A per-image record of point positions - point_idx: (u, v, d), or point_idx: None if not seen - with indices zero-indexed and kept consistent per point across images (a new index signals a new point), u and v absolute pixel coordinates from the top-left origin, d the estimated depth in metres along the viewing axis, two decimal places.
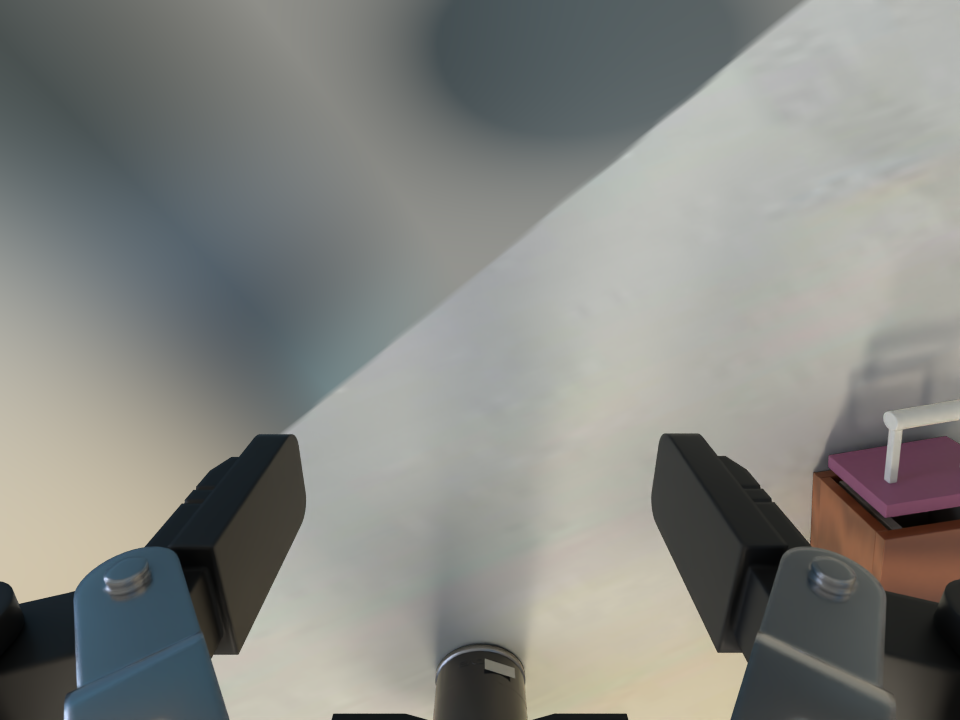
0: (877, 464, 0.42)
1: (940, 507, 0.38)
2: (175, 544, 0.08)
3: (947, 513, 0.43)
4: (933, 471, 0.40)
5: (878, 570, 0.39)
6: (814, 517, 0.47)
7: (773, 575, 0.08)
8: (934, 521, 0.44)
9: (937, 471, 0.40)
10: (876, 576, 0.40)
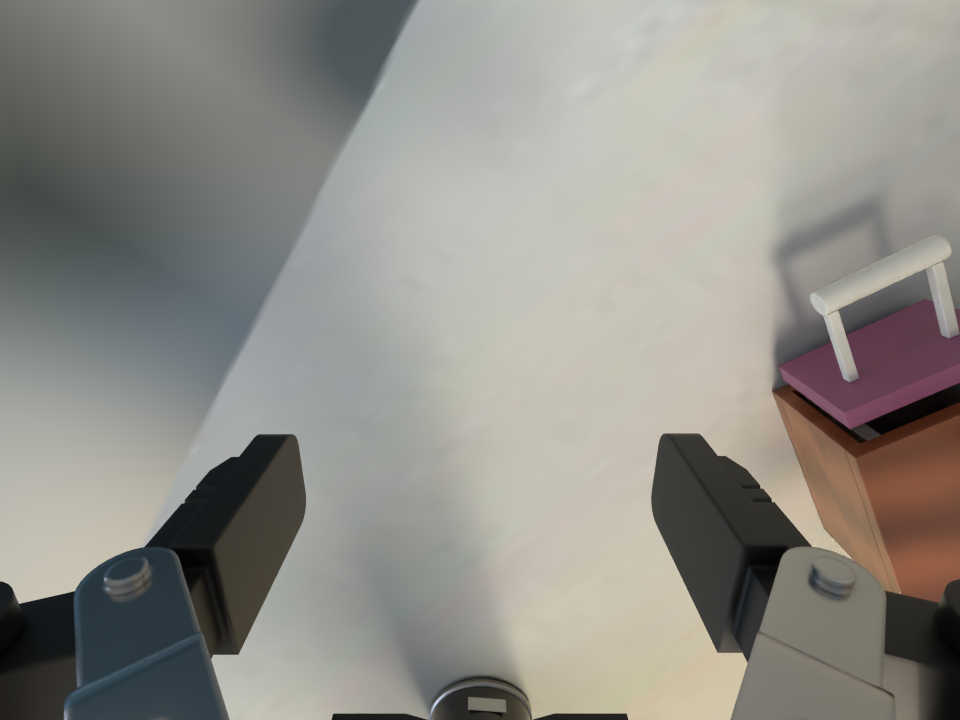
0: (836, 361, 0.32)
1: (921, 396, 0.28)
2: (175, 544, 0.08)
3: (954, 397, 0.32)
4: (907, 350, 0.30)
5: (866, 497, 0.30)
6: (794, 444, 0.38)
7: (773, 575, 0.08)
8: None
9: (912, 349, 0.30)
10: (867, 505, 0.30)
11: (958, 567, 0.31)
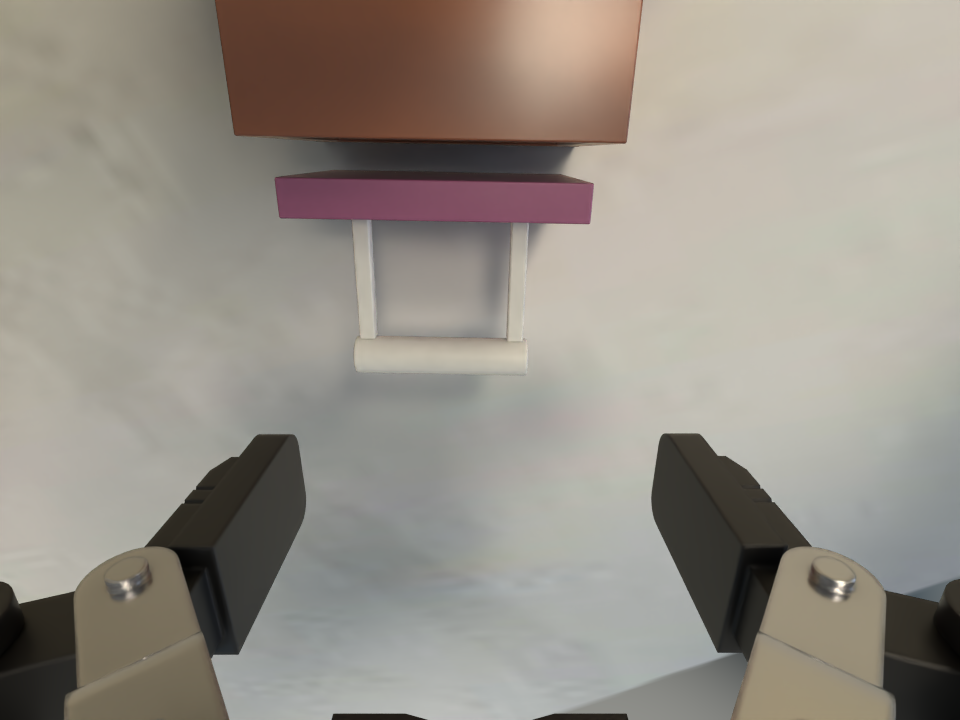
0: None
1: (464, 187, 0.16)
2: (175, 544, 0.08)
3: None
4: None
5: None
6: None
7: (773, 575, 0.08)
8: None
9: None
10: None
11: None
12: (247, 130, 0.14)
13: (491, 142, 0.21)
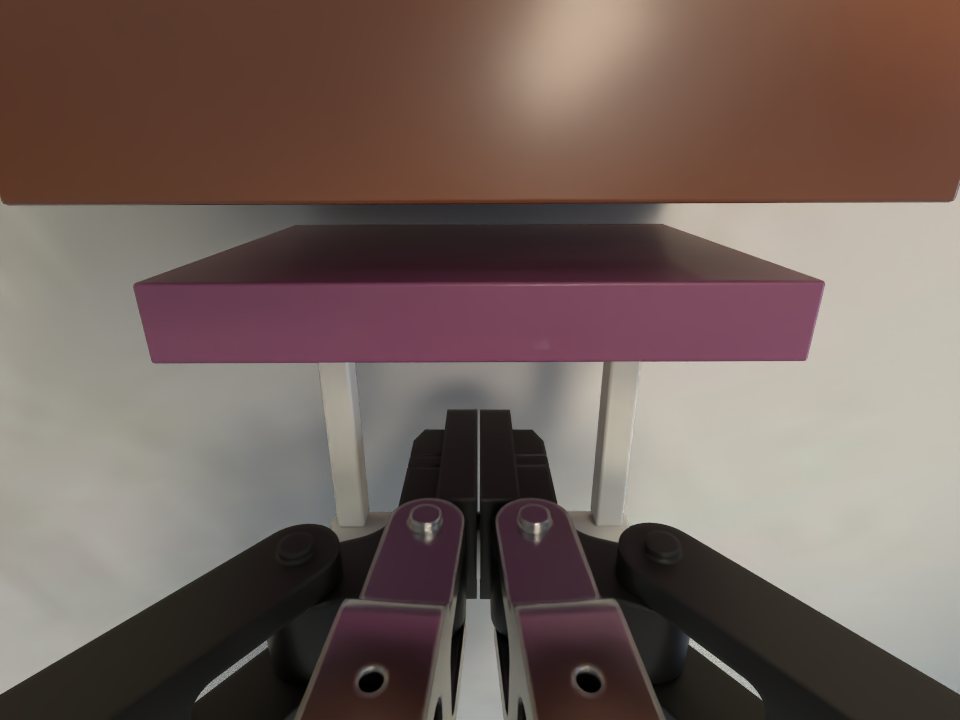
0: None
1: (544, 296, 0.07)
2: (442, 497, 0.09)
3: None
4: None
5: None
6: None
7: None
8: None
9: None
10: None
11: None
12: (32, 192, 0.06)
13: None
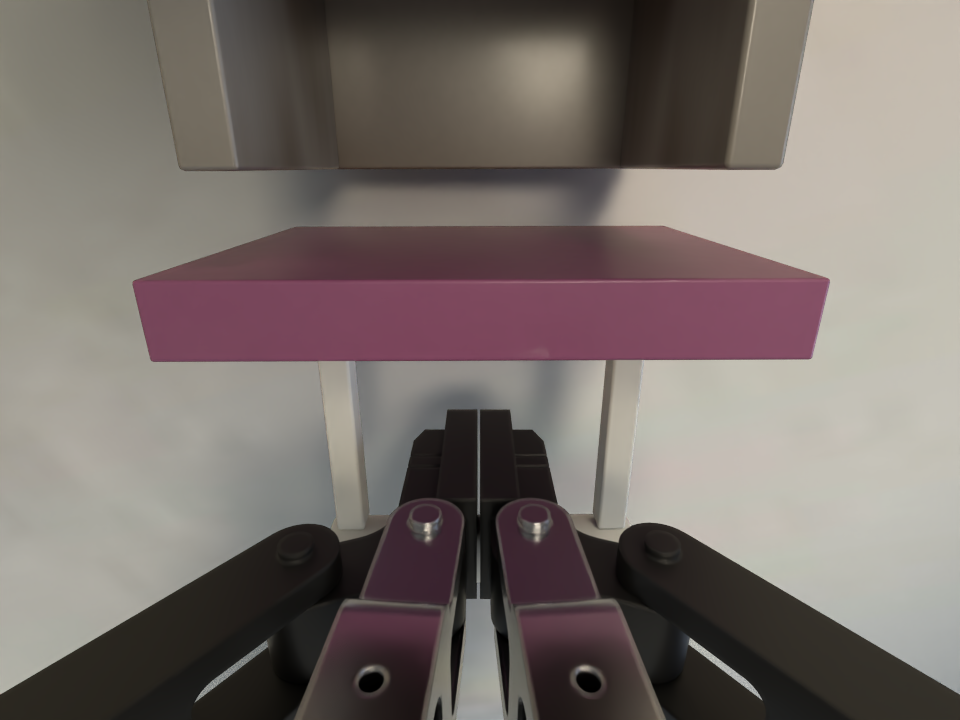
0: None
1: (547, 293, 0.07)
2: (442, 497, 0.09)
3: (299, 0, 0.09)
4: None
5: None
6: None
7: None
8: None
9: None
10: None
11: None
12: None
13: None
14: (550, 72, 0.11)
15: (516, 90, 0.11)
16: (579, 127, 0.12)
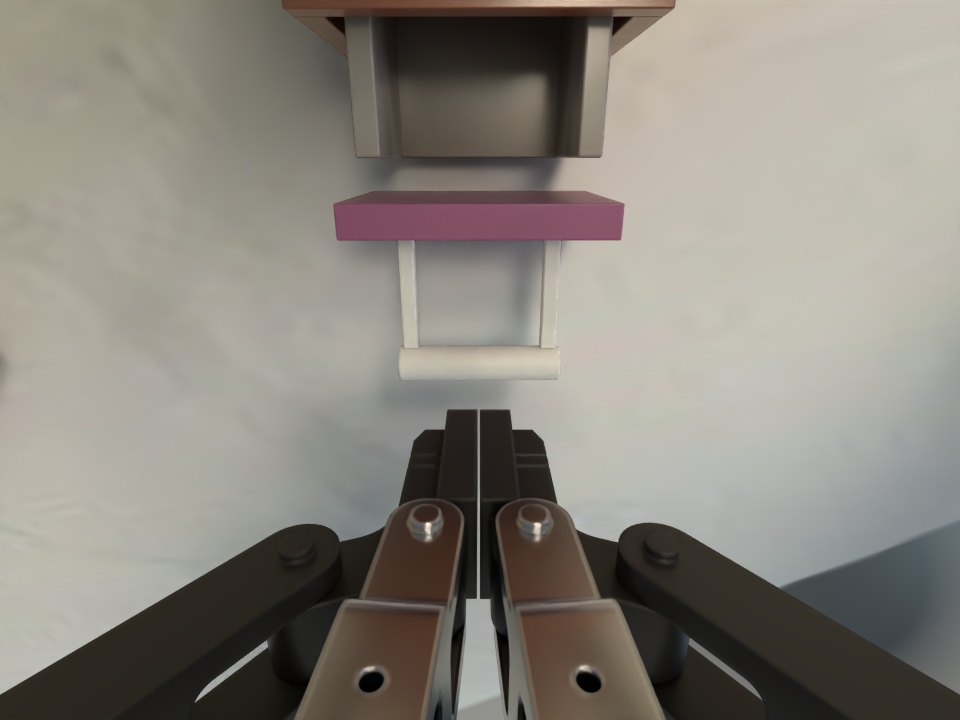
0: None
1: (506, 209, 0.17)
2: (442, 497, 0.09)
3: (392, 75, 0.19)
4: None
5: None
6: None
7: None
8: (393, 28, 0.19)
9: None
10: None
11: None
12: (295, 3, 0.14)
13: None
14: (516, 106, 0.21)
15: (498, 115, 0.21)
16: (532, 135, 0.21)
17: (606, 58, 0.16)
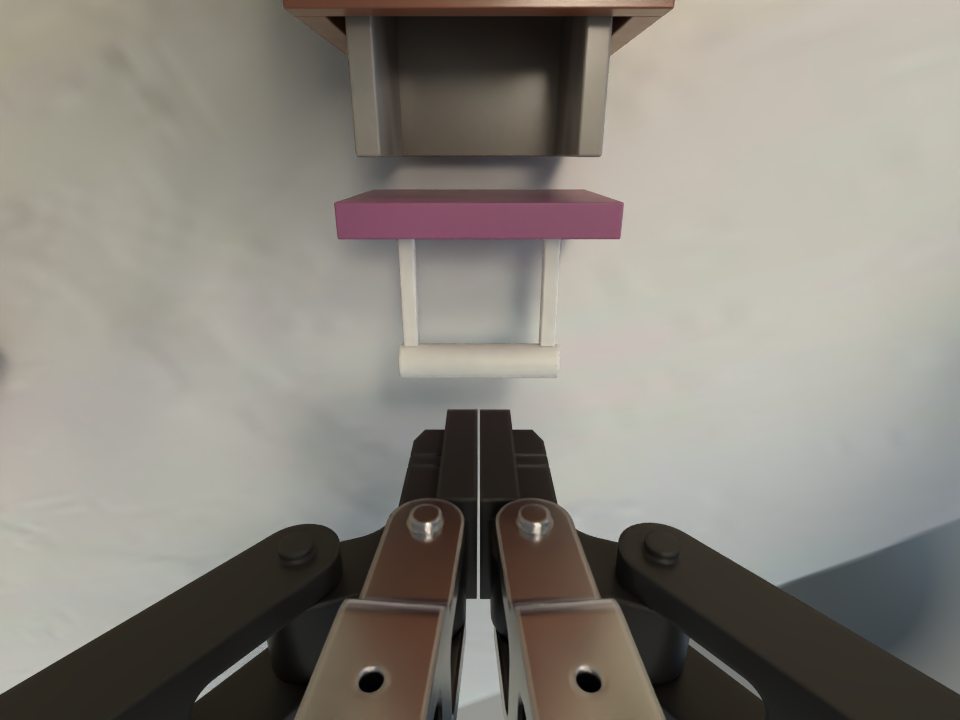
0: None
1: (506, 208, 0.17)
2: (442, 497, 0.09)
3: (392, 74, 0.19)
4: None
5: None
6: None
7: None
8: (393, 27, 0.20)
9: None
10: None
11: None
12: (296, 2, 0.14)
13: None
14: (516, 104, 0.21)
15: (498, 114, 0.21)
16: (532, 134, 0.22)
17: (606, 58, 0.16)
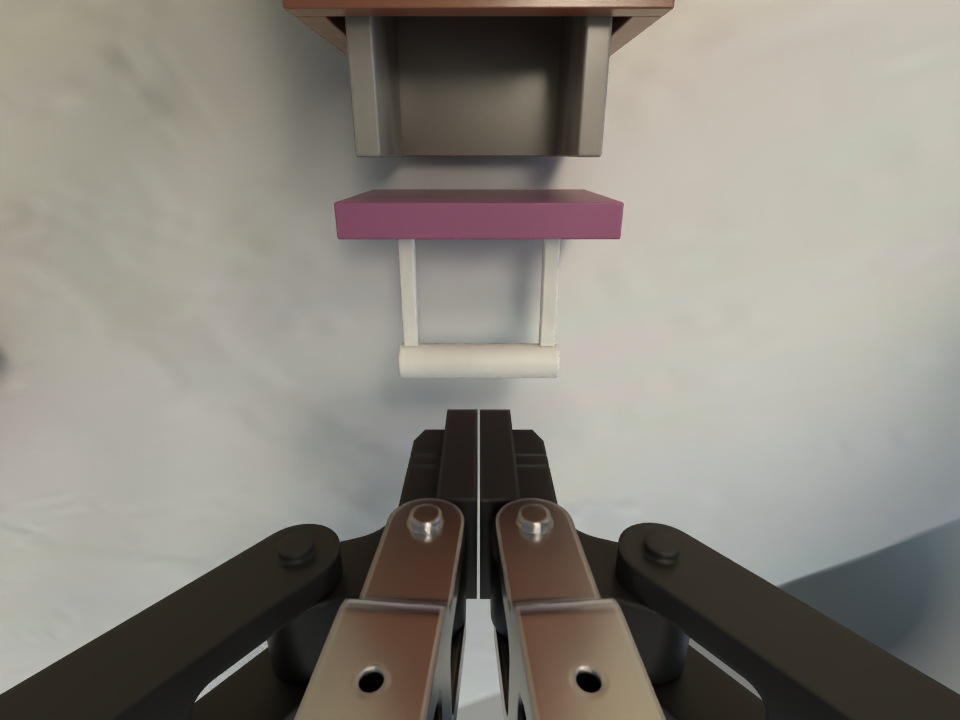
0: None
1: (506, 208, 0.17)
2: (442, 497, 0.09)
3: (392, 74, 0.19)
4: None
5: None
6: None
7: None
8: (393, 27, 0.20)
9: None
10: None
11: None
12: (296, 2, 0.14)
13: None
14: (516, 105, 0.21)
15: (498, 114, 0.21)
16: (532, 134, 0.22)
17: (605, 58, 0.16)
